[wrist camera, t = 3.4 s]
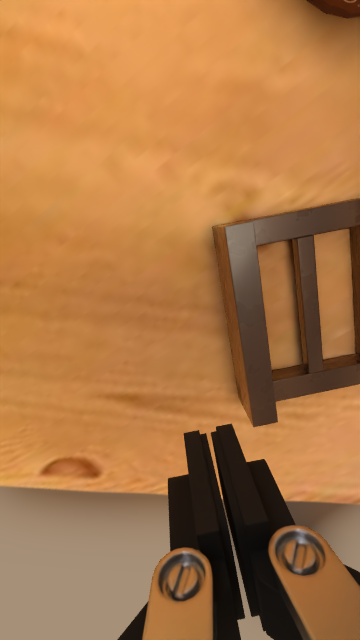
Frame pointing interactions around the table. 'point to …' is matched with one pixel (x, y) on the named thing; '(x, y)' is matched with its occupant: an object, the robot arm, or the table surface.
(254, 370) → the plate rack
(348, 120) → the table surface
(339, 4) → the food container
